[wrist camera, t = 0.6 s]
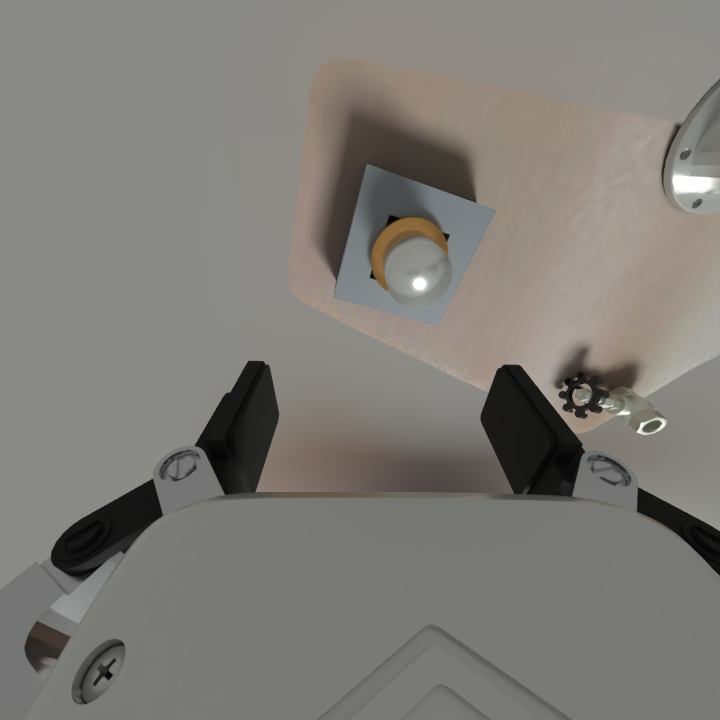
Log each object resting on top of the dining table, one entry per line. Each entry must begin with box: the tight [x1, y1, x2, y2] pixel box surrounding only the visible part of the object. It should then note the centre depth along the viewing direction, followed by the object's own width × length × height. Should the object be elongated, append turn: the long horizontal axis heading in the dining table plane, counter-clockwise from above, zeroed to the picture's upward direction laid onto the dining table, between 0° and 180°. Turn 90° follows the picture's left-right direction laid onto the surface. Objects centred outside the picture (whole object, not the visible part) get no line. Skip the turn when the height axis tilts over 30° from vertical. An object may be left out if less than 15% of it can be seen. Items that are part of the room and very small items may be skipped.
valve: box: [559, 372, 667, 435], centre depth 41 cm, size 7×7×12 cm
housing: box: [333, 164, 496, 326], centre depth 30 cm, size 12×12×5 cm
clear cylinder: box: [371, 216, 452, 308], centre depth 27 cm, size 7×7×10 cm
